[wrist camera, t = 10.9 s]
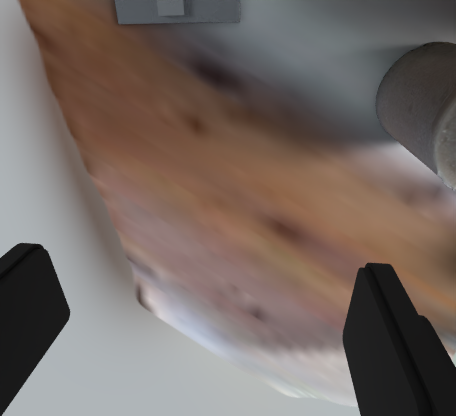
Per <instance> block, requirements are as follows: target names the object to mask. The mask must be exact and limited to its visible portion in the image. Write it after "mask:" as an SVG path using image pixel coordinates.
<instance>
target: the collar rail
mask: <svg viewBox="0 0 456 416" xmlns="http://www.w3.org/2000/svg"><path fill="white" fill-rule="evenodd" d="M115 6H116V12H117V18H118V24H162V23H202V22H240V0H115Z"/></svg>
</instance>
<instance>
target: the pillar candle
mask: <svg viewBox="0 0 456 416" xmlns="http://www.w3.org/2000/svg"><path fill="white" fill-rule="evenodd" d="M376 112H377V116H378V119H379V121H380V124H381V125H382V127H383V128H384V129H385V130H386V131H387V132H388V133H389V134H390V135H391V136H393V137H394V138H395V139H396V140H397V141H398V142H399V143H400V144H401V145H403V146H404V147H405V148H406V149H407V150H408V151H410V152H411V153H412V154H413V155H414V156H416V157H417V158H418V159H419V160H420V161H421V162H423V163H424V164H425V165H426V166H427V167H428V168H430V169H431V170H432V171H433V172H434V173H435V174H436V175H437V176H438V177H439V178H441V179H442V181H443V183H444V184H445V185H446V186H447V187H451V188H452V190H456V44H453V43H449V42H433V43H427V44H425V45H424V46H422V47H420V48H417V49H416V50H412V51H410V52H408V53H407V54H405V55H404V56H403V57H401V58H400V59H399V60H398V61H397V62H396V63H395V64H394V65H393V66H392V67H391V68H390V69H389V71H388V72H387V74H386V75H385V77H384V78H383V80H382V82H381V84H380V86H379V89H378V93H377V97H376Z"/></svg>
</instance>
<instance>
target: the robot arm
mask: <svg viewBox="0 0 456 416" xmlns="http://www.w3.org/2000/svg"><path fill="white" fill-rule="evenodd" d="M69 316H70V309H69V307H68V304H67V301H66V298H65V296H64V293H63V291H62V288H61V285H60V283H59V280H58V277H57V274H56V272H55V269H54V266H53V264H52V261H51V258H50V256H49V253H48V251H47V250H46V249H44V248H43V246H42V245H40V244H30V243H20V244H17V245H16V246H14V247H13V248H12V249H11V250H9V251H8V252H7V253H6V254H5V255H3V256H2V257H1V258H0V416H2V414H3V412H5V410H6V409H7V407H8V406H9V404H10V403H11V402H12V400H13V399H14V397H15V396H16V394H17V393H18V392H19V390H20V389H21V387H22V386H23V384H24V383H25V382H26V380H27V379H28V377H29V376H30V374H31V373H32V372H33V370H34V369H35V367H36V366H37V364H38V363H39V361H40V360H41V359H42V357H43V356H44V355H45V353H46V351H47V350H48V349H49V347H50V346H51V344H52V343H53V342H54V340H55V339H56V337H57V336H58V335H59V333H60V332H61V330H62V329H63V327H64V326H65V325H66V323H67V322H68V320H69ZM343 345H344V349H345V353H346V357H347V361H348V366H349V370H350V374H351V378H352V382H353V386H354V390H355V394H356V398H357V402H358V406H359V411H360V414H361V416H456V367H455V365H454V364H453V362H452V360H451V358H450V356H449V355H448V353H447V351H446V349H445V348H444V346H443V344H442V342H441V341H440V339H439V337H438V335H437V334H436V332H435V330H434V328H433V326H432V325H431V323H430V322H429V320H428V319H427V318H426V317H424V316H421V315H418V313H417V311H416V309H415V308H414V306H413V304H412V302H411V300H410V298H409V296H408V295H407V293H406V291H405V289H404V287H403V285H402V283H401V282H400V280H399V278H398V276H397V274H396V272H395V271H394V269H393V267H392V266H391V265H390V264H382V263H367V264H366V266H365V268H359V270H358V273H357V277H356V281H355V285H354V289H353V294H352V298H351V302H350V306H349V310H348V314H347V318H346V322H345V326H344V330H343Z"/></svg>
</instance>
